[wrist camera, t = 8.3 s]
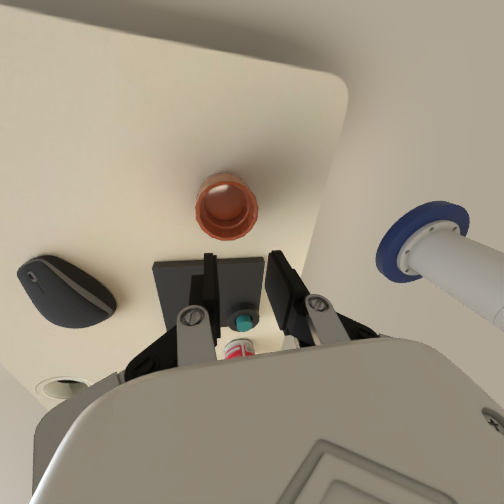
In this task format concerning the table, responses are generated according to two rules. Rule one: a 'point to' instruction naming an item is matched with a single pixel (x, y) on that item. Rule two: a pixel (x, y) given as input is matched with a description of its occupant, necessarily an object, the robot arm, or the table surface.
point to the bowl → (226, 207)
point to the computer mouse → (65, 293)
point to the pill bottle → (239, 349)
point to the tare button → (244, 323)
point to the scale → (230, 288)
